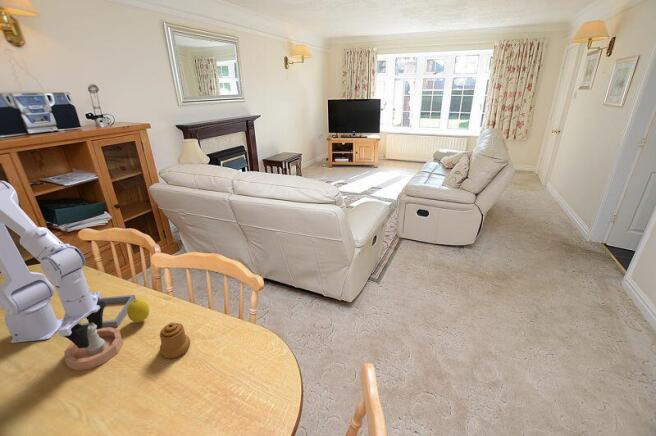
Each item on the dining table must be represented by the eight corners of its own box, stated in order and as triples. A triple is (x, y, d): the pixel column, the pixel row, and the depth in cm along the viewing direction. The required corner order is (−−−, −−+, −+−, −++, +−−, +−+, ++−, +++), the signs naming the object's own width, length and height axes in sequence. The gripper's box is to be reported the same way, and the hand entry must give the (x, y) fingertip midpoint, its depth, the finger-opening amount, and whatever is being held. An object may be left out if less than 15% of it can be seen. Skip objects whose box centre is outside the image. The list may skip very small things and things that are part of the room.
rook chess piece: (110, 346, 82) (102, 322, 79) (93, 358, 78) (83, 334, 75) (100, 340, 84) (92, 318, 81) (82, 352, 80) (73, 328, 77)
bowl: (56, 372, 75) (53, 365, 74) (84, 337, 86) (81, 330, 85) (109, 366, 77) (106, 358, 76) (130, 332, 88) (127, 325, 87)
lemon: (155, 315, 94) (150, 294, 91) (143, 328, 89) (137, 306, 86) (139, 314, 95) (133, 293, 92) (126, 327, 90) (119, 305, 86)
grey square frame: (68, 331, 87) (66, 326, 87) (93, 303, 99) (91, 298, 99) (117, 326, 90) (116, 321, 89) (135, 299, 101) (134, 294, 101)
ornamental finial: (186, 358, 79) (156, 361, 78) (193, 337, 86) (166, 340, 85) (181, 334, 76) (149, 337, 75) (189, 315, 83) (160, 317, 82)
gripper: (75, 312, 68) (92, 357, 73) (107, 277, 81) (120, 317, 87) (40, 315, 67) (60, 361, 72) (78, 279, 80) (93, 319, 85)
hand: (91, 337), depth 79 cm, fingers open, 6 cm apart
